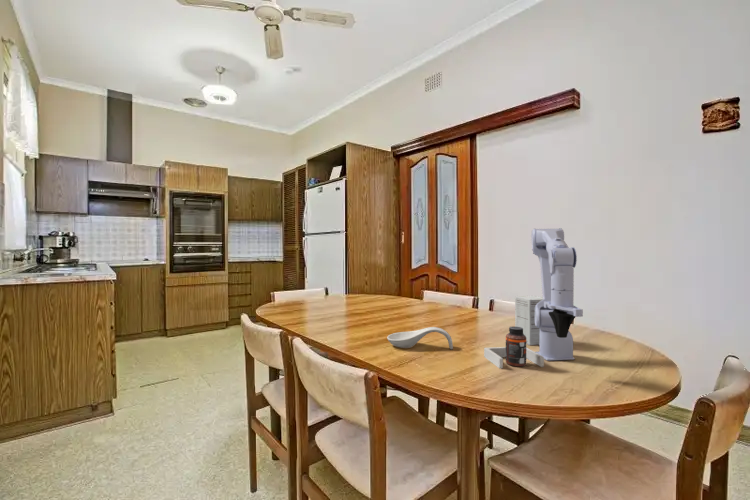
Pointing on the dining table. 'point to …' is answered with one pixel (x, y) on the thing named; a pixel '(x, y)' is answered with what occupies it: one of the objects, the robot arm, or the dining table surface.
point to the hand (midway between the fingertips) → (561, 337)
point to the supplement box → (527, 317)
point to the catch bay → (498, 352)
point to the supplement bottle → (516, 347)
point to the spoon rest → (415, 337)
